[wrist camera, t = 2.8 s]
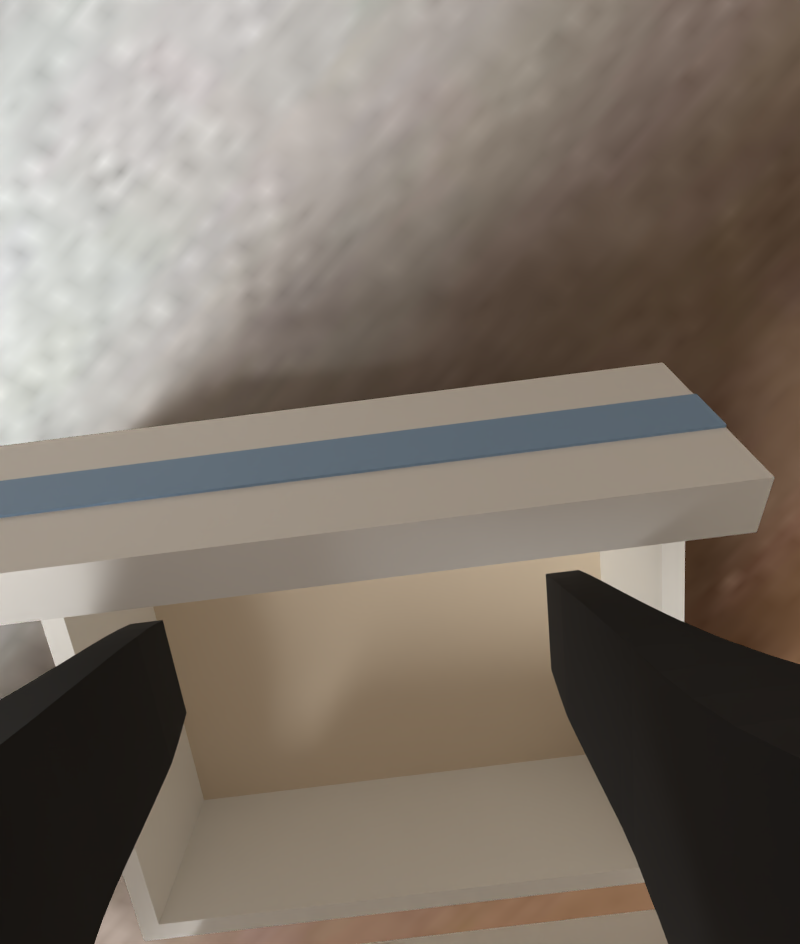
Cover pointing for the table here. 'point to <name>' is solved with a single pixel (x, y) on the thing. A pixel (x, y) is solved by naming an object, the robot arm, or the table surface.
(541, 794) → the carton
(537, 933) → the flap
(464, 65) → the table surface
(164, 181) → the table surface
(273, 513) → the flap
